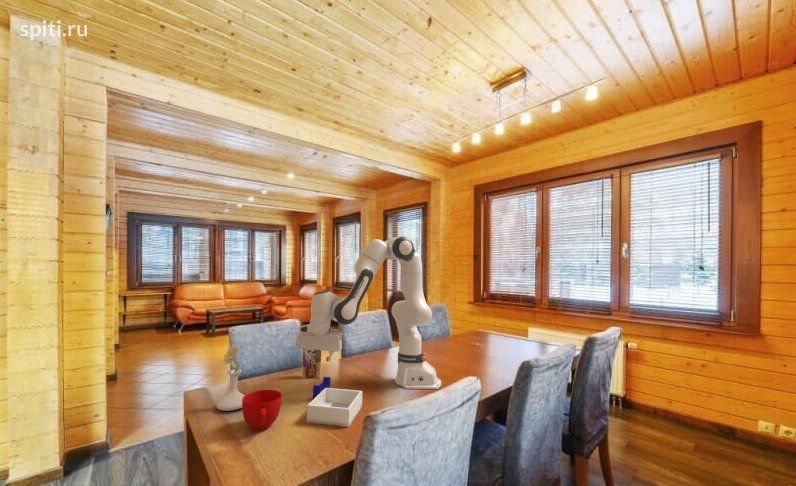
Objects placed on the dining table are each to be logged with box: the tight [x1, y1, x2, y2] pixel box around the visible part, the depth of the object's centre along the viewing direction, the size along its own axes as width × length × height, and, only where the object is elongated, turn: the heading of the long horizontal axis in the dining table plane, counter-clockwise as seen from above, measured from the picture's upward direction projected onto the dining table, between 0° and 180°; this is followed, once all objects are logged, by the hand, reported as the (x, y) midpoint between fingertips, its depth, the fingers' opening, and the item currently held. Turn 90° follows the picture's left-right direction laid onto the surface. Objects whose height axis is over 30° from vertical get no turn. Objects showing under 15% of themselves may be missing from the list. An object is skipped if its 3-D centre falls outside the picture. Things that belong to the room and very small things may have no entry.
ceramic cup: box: [241, 389, 283, 431], centre depth 115 cm, size 13×17×10 cm
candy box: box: [301, 349, 322, 379], centre depth 168 cm, size 9×4×15 cm, turn 99°
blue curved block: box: [312, 376, 332, 400], centre depth 145 cm, size 12×4×6 cm, turn 170°
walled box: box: [306, 387, 363, 428], centre depth 127 cm, size 16×18×6 cm
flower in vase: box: [216, 343, 246, 412], centre depth 131 cm, size 13×11×25 cm
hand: (318, 360), depth 146 cm, fingers open, 8 cm apart
